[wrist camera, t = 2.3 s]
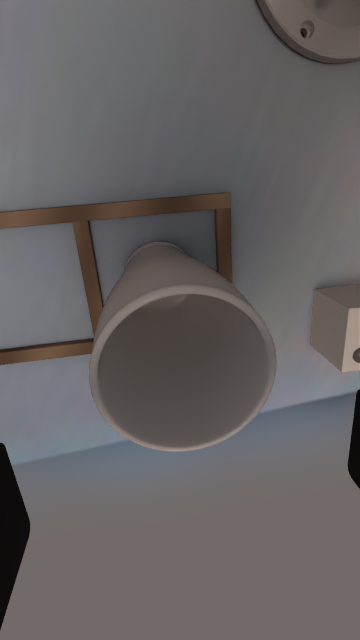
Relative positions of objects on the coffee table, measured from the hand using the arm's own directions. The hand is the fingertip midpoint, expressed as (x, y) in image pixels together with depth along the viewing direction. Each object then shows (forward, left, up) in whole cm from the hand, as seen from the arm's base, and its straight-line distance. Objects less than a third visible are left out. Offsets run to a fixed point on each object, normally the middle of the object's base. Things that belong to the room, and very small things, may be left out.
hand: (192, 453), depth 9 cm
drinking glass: (0, 0, -18) cm, 18 cm away
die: (-15, +5, -18) cm, 24 cm away
